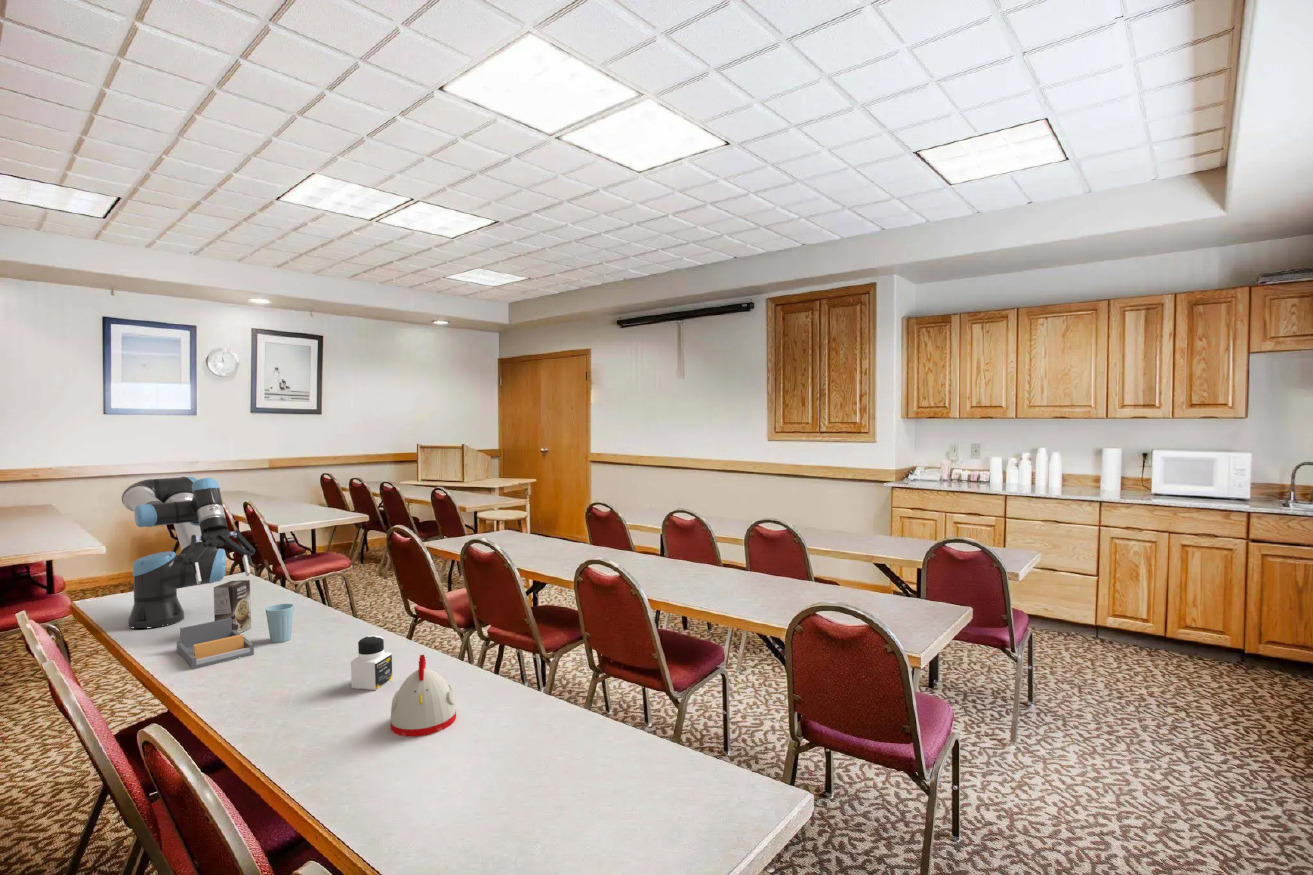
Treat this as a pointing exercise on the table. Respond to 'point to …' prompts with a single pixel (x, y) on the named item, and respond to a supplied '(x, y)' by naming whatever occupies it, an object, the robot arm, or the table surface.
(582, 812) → the table surface
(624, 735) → the table surface
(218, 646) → the pusher
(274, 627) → the cup
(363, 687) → the medicine bottle
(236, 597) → the coffee box
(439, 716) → the kitchen timer
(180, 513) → the robot arm
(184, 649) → the grey open rectangular box
